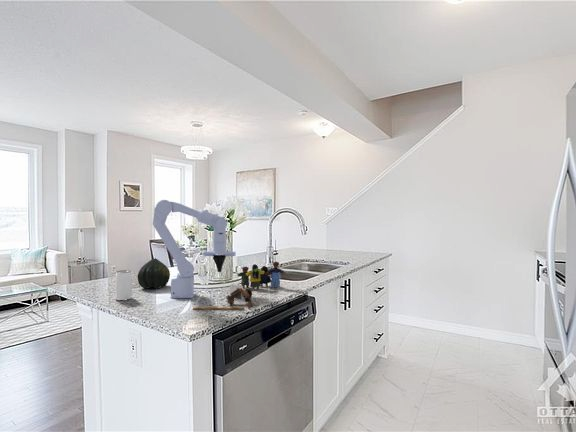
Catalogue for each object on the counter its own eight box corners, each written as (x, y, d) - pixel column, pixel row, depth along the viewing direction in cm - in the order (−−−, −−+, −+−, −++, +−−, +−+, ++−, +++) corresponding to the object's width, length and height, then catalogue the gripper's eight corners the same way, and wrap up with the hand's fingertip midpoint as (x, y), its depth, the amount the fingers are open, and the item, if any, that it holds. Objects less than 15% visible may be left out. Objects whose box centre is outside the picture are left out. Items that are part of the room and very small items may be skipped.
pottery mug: (247, 312, 124) (236, 293, 124) (230, 319, 128) (219, 301, 128) (262, 297, 134) (251, 280, 134) (245, 304, 139) (235, 287, 139)
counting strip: (192, 309, 125) (192, 307, 125) (194, 308, 127) (194, 306, 127) (242, 309, 125) (242, 307, 125) (243, 308, 127) (243, 306, 127)
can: (135, 298, 142) (135, 270, 142) (122, 301, 136) (122, 273, 136) (125, 296, 145) (125, 269, 145) (111, 300, 139) (111, 271, 139)
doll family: (278, 284, 170) (279, 259, 170) (286, 288, 162) (287, 261, 162) (236, 289, 159) (236, 262, 159) (242, 293, 151) (242, 264, 151)
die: (229, 296, 143) (229, 286, 143) (231, 294, 148) (231, 283, 148) (240, 296, 143) (240, 286, 143) (241, 294, 148) (241, 283, 148)
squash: (148, 281, 150) (164, 254, 160) (126, 280, 157) (142, 254, 166) (166, 296, 160) (180, 270, 169) (145, 294, 166) (159, 269, 175)
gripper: (201, 243, 147) (201, 273, 148) (233, 243, 148) (233, 273, 148) (205, 241, 155) (205, 270, 155) (236, 241, 155) (236, 270, 155)
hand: (219, 271), depth 152 cm, fingers closed
